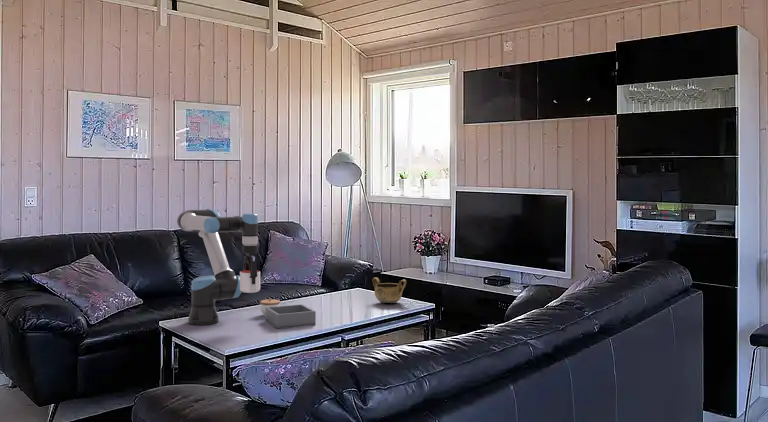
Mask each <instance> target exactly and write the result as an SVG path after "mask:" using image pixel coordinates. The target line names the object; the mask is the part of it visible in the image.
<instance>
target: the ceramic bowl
mask: <svg viewBox="0 0 768 422" xmlns="http://www.w3.org/2000/svg"><path fill="white" fill-rule="evenodd" d="M371 282H372V286H373V288H374V296H375V298H376V299H377V301H379V302H381V304H384V303H394V304H395V303H398V302H399V301H400V300H401V298H402V296H403V291H404V290H405V288H406V285H407V280H406V279H402V280H399V282H398V283H393V282H384V283H381V280H380V279H379V277H373V278H372V279H371ZM402 282H403V284H402Z"/></svg>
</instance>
